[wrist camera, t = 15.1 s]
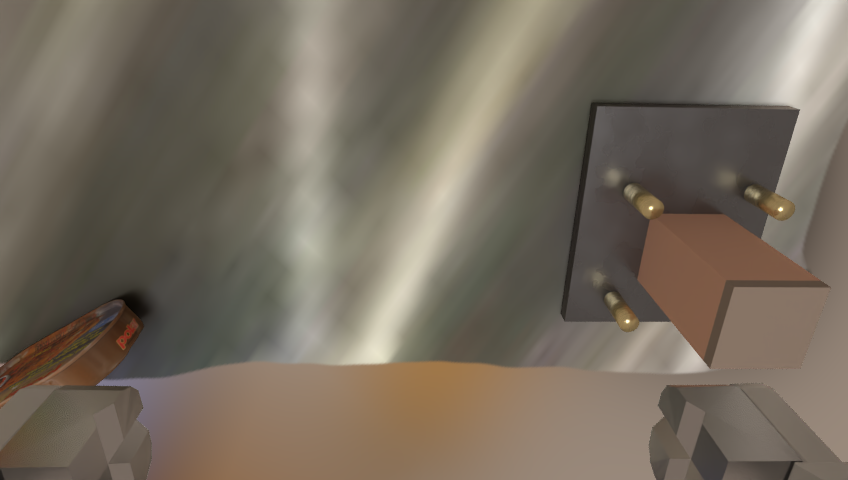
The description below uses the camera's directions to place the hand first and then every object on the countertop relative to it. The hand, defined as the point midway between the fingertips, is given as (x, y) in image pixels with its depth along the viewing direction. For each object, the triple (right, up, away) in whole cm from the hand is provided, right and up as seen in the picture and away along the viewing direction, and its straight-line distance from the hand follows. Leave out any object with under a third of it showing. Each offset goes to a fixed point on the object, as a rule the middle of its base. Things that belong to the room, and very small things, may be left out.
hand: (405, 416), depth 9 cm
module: (+20, +2, +33) cm, 38 cm away
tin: (-28, -5, +36) cm, 45 cm away
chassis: (+19, +4, +33) cm, 38 cm away
